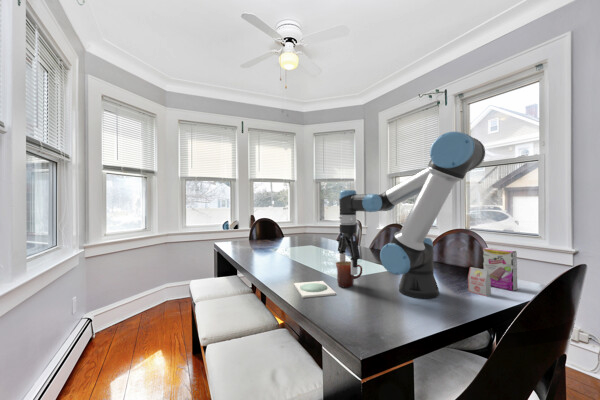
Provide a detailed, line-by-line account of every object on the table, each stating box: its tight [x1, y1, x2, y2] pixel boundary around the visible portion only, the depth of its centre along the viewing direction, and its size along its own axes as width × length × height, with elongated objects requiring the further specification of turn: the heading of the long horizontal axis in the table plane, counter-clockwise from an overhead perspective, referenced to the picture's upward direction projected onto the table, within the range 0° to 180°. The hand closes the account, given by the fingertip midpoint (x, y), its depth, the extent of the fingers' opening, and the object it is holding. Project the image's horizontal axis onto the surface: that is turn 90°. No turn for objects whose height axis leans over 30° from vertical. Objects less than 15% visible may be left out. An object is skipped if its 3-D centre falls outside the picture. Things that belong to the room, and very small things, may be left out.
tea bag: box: [467, 266, 492, 297], centre depth 108 cm, size 4×7×10 cm, turn 28°
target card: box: [293, 280, 337, 299], centre depth 116 cm, size 18×14×1 cm
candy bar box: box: [482, 247, 518, 292], centre depth 116 cm, size 11×5×16 cm, turn 34°
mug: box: [335, 260, 363, 289], centre depth 121 cm, size 12×9×10 cm
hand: (348, 270), depth 121 cm, fingers open, 13 cm apart
